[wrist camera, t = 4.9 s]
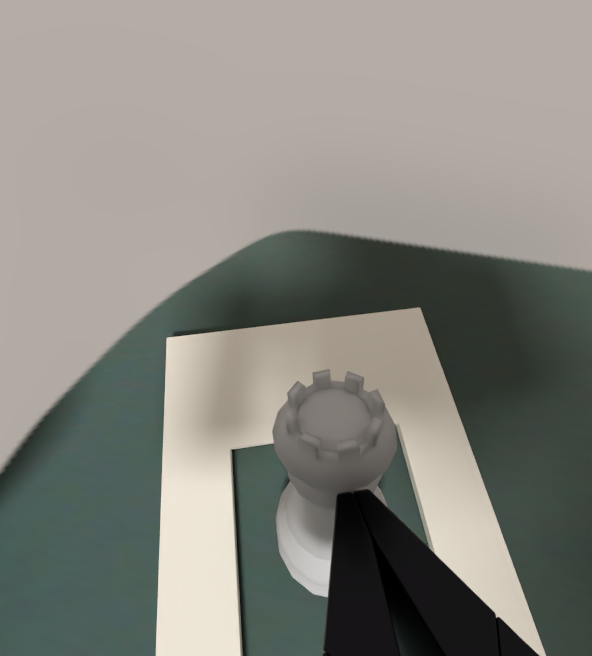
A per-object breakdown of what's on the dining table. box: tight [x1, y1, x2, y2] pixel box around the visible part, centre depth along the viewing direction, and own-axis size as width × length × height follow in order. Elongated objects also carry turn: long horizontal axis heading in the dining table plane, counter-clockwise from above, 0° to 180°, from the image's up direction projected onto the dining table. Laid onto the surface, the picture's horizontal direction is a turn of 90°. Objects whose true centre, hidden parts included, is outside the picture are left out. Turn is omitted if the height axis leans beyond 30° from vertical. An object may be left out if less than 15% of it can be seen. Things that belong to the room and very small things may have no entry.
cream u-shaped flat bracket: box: [156, 307, 546, 656], centre depth 14 cm, size 16×14×1 cm
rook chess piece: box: [272, 369, 397, 597], centre depth 10 cm, size 4×4×8 cm
